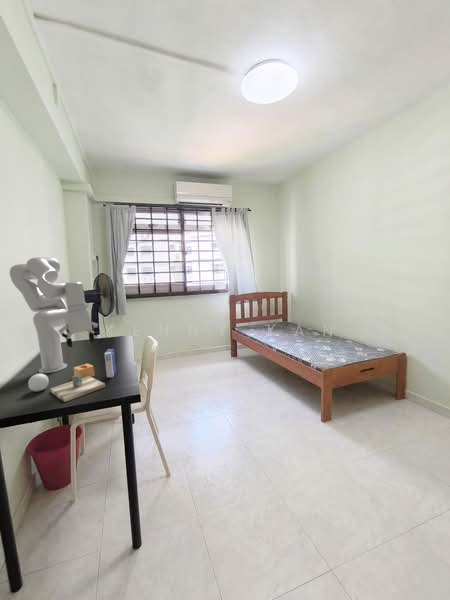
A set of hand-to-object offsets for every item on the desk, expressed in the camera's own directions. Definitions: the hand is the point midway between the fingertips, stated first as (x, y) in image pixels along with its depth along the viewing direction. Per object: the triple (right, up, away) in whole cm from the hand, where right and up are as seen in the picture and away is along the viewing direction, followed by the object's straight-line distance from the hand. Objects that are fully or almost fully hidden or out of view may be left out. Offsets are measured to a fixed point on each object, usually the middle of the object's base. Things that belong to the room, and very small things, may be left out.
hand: (81, 344), depth 127 cm
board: (+5, -17, -12) cm, 22 cm away
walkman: (+13, -15, +3) cm, 21 cm away
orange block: (+1, -16, +2) cm, 16 cm away
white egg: (-12, -19, -12) cm, 25 cm away
